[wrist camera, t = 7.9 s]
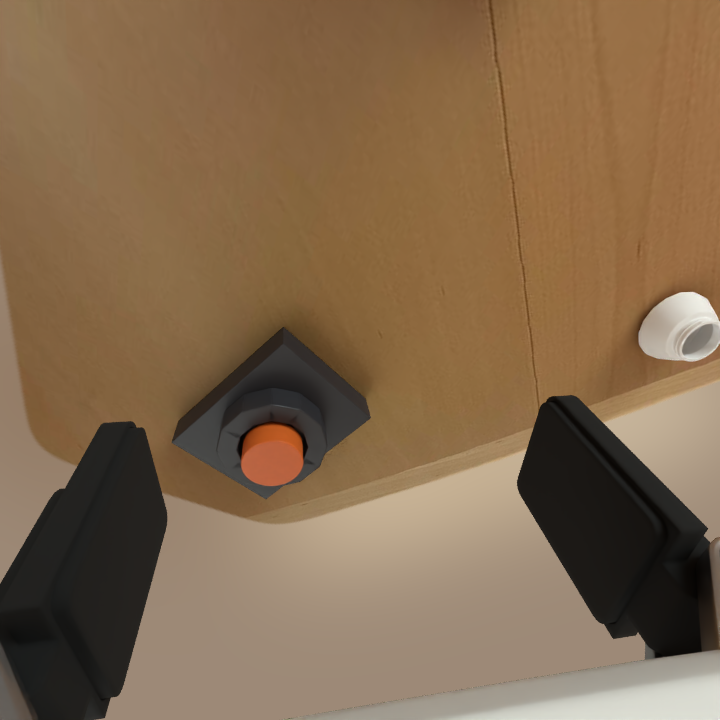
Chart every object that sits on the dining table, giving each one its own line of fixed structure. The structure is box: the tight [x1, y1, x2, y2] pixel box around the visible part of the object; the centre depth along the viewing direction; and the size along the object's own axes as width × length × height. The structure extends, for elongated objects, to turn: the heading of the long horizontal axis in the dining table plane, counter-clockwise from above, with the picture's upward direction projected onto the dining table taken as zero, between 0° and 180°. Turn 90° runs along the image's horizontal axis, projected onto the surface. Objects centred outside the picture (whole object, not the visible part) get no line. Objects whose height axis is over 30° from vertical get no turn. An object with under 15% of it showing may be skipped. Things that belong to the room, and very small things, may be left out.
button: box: [241, 422, 303, 486], centre depth 26 cm, size 4×4×2 cm
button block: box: [172, 327, 371, 499], centre depth 28 cm, size 8×10×4 cm
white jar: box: [639, 292, 720, 361], centre depth 30 cm, size 5×3×5 cm
